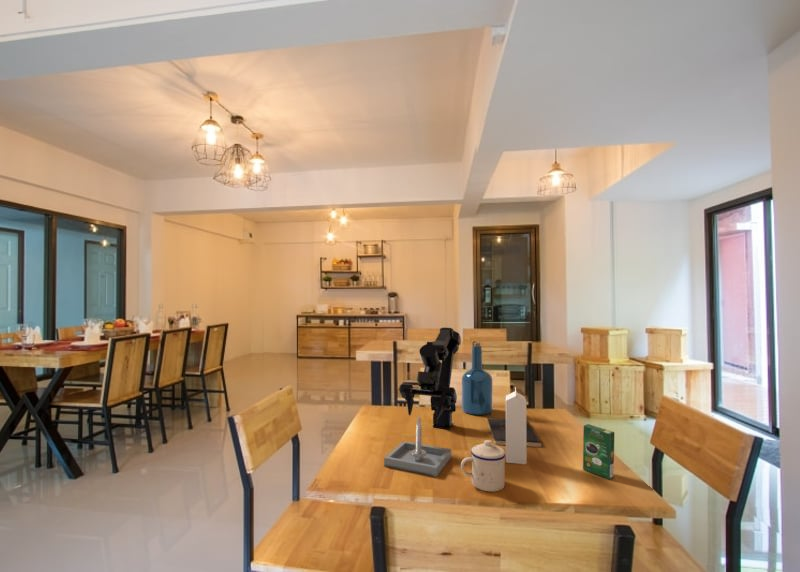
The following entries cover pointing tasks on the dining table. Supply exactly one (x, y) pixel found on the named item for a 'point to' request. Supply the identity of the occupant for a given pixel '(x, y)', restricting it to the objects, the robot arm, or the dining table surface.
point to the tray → (427, 466)
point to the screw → (418, 443)
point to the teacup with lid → (486, 466)
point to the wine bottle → (477, 386)
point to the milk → (515, 428)
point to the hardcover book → (500, 432)
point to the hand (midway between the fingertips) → (422, 416)
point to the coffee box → (598, 451)
